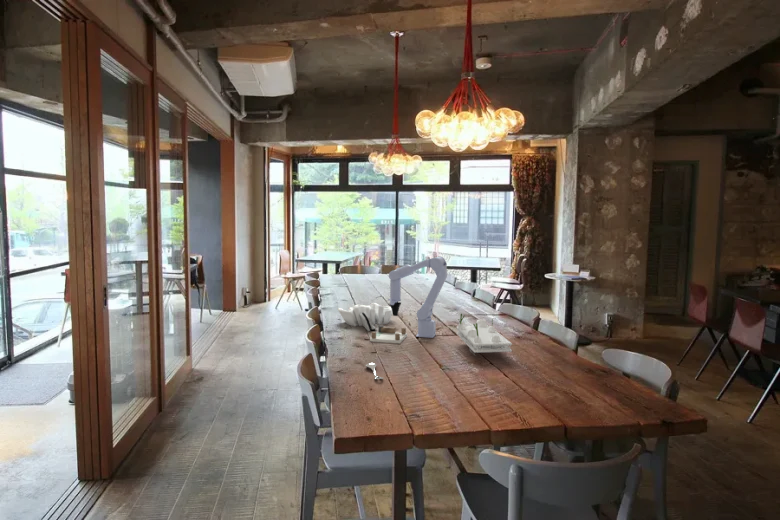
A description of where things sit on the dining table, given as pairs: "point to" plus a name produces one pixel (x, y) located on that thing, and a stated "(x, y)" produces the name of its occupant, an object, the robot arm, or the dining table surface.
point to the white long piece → (372, 366)
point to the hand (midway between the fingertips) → (395, 315)
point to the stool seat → (389, 336)
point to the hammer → (386, 329)
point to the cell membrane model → (482, 337)
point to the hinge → (366, 321)
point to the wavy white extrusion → (373, 311)
